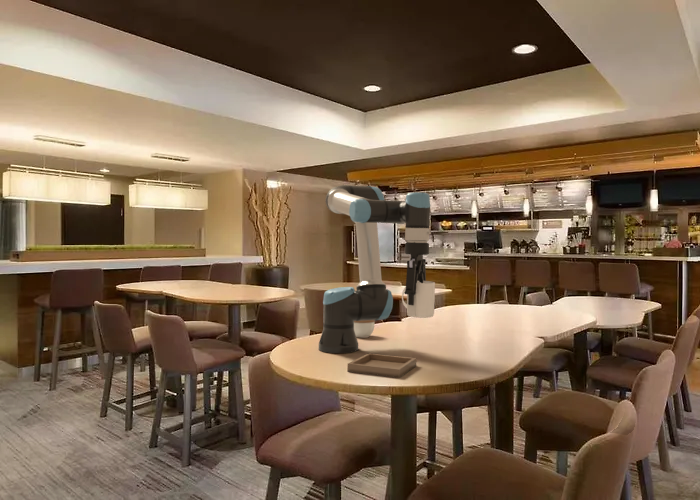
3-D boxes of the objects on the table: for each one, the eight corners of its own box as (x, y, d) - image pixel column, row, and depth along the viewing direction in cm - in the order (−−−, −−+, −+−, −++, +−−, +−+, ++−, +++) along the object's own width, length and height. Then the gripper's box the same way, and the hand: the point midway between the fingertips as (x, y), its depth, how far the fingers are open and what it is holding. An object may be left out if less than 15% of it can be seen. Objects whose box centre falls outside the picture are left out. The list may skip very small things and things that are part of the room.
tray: (347, 371, 156) (347, 363, 156) (368, 360, 172) (368, 353, 172) (399, 377, 149) (399, 369, 149) (416, 365, 165) (416, 358, 165)
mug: (410, 311, 167) (411, 279, 166) (439, 316, 158) (440, 282, 157) (393, 313, 161) (393, 280, 160) (422, 319, 152) (423, 283, 152)
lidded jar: (347, 334, 222) (347, 313, 222) (369, 333, 226) (370, 313, 226) (354, 339, 212) (354, 317, 212) (378, 337, 215) (378, 316, 215)
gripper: (420, 242, 147) (418, 319, 147) (436, 241, 166) (435, 309, 167) (395, 241, 149) (393, 317, 150) (414, 241, 169) (413, 308, 170)
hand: (415, 313), depth 159 cm, fingers closed on mug, 9 cm apart
